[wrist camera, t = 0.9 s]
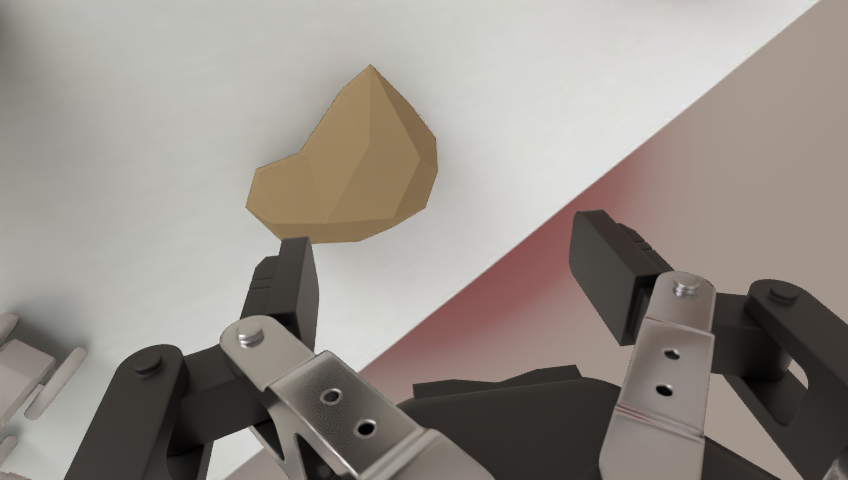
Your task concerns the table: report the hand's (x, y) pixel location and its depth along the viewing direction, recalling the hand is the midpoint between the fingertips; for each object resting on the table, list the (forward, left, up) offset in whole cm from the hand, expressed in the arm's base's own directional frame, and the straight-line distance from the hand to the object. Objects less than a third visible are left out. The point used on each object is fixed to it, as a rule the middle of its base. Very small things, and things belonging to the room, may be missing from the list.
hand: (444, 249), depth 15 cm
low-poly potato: (+2, -3, -27) cm, 27 cm away
